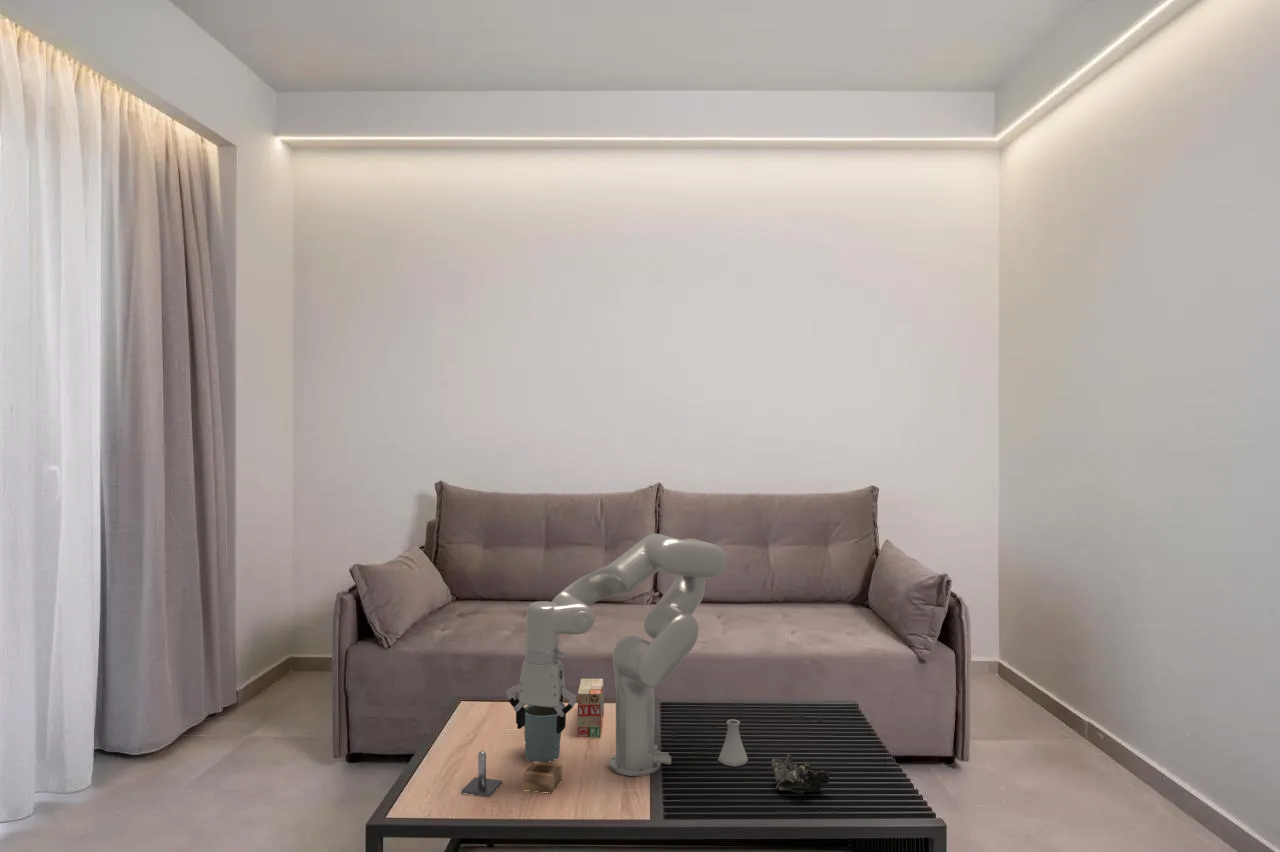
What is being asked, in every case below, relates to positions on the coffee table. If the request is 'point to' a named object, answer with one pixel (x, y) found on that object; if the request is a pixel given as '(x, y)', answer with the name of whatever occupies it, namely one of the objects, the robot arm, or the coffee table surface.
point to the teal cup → (541, 734)
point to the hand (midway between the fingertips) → (540, 729)
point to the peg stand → (482, 780)
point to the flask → (733, 746)
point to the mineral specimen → (797, 776)
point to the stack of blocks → (590, 707)
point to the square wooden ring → (542, 776)
